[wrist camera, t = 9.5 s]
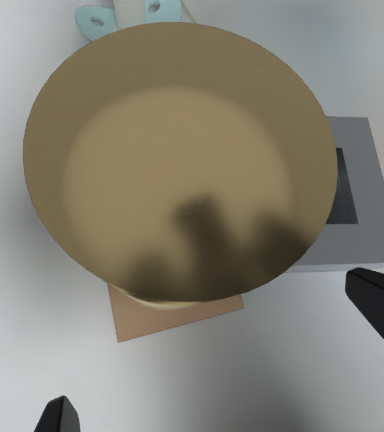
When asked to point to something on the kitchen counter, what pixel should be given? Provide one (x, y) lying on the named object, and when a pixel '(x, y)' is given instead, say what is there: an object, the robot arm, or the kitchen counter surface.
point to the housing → (351, 205)
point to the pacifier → (125, 16)
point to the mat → (161, 314)
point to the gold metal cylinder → (180, 163)
